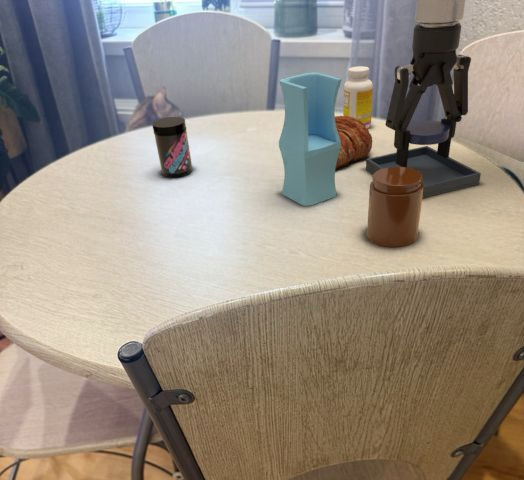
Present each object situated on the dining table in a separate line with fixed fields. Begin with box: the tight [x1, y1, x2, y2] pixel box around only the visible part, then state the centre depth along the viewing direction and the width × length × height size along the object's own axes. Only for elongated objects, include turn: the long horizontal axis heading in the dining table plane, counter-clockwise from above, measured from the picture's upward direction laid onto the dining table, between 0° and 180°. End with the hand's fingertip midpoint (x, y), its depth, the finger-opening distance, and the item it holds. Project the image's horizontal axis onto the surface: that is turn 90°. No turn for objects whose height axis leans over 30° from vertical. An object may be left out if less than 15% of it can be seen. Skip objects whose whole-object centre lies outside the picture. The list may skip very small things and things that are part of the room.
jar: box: [366, 167, 424, 248], centre depth 83 cm, size 8×8×10 cm
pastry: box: [335, 115, 373, 171], centre depth 112 cm, size 17×15×8 cm
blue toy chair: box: [278, 71, 343, 207], centre depth 94 cm, size 8×8×20 cm
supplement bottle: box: [342, 65, 374, 130], centre depth 125 cm, size 7×7×13 cm
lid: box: [407, 119, 450, 146], centre depth 98 cm, size 9×8×2 cm
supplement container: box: [151, 116, 193, 178], centre depth 111 cm, size 7×7×10 cm
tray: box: [365, 145, 482, 199], centre depth 103 cm, size 17×14×2 cm
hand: (422, 160), depth 101 cm, fingers closed on lid, 8 cm apart
